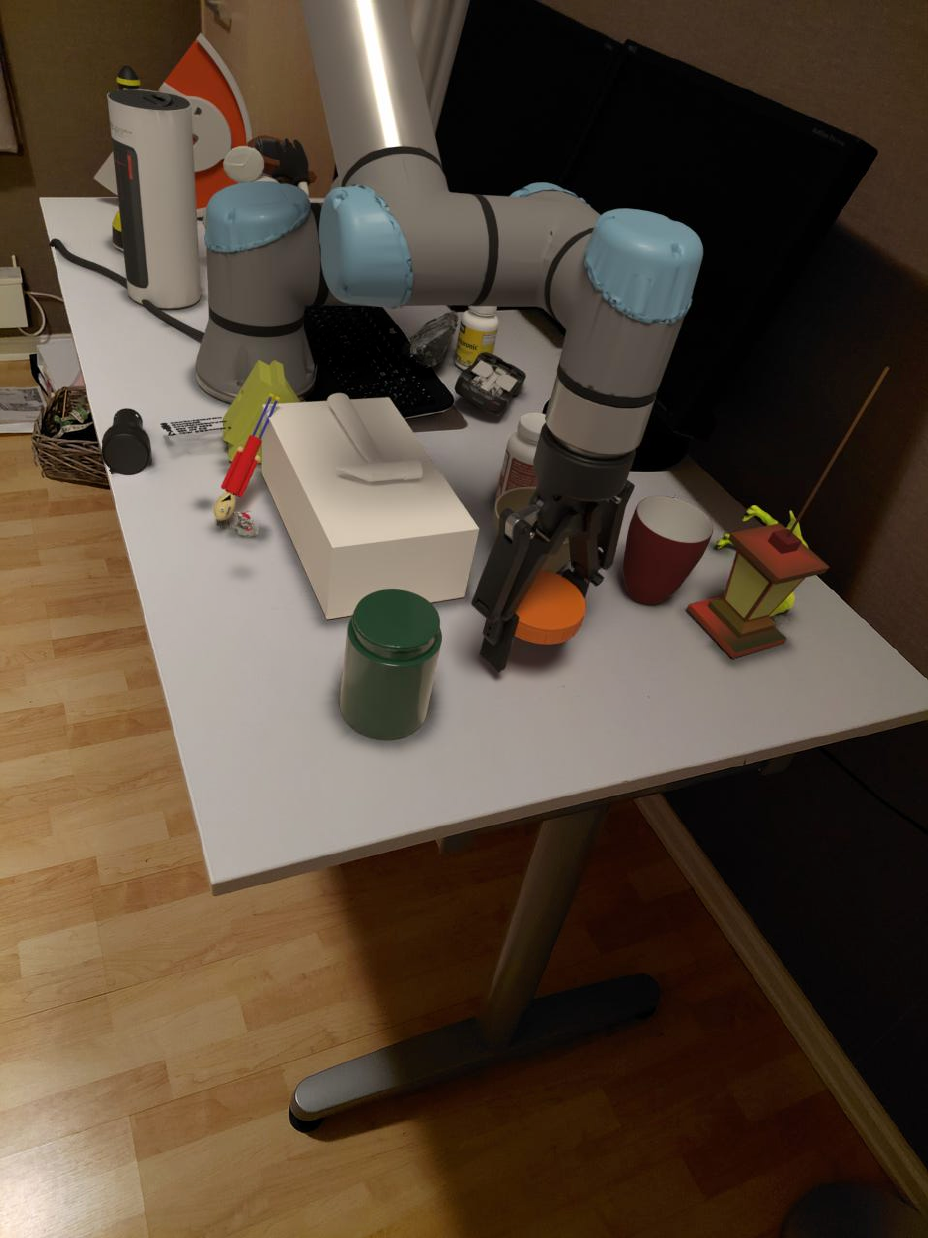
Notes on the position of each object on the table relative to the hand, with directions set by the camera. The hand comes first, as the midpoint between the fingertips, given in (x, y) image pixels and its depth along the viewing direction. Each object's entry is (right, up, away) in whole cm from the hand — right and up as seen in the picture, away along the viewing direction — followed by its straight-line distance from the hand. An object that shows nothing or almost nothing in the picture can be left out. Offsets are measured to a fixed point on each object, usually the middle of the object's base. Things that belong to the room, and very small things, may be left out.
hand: (526, 644), depth 80 cm
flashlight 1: (-58, +63, +57) cm, 103 cm away
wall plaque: (-63, +73, +69) cm, 119 cm away
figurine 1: (-27, +26, +12) cm, 40 cm away
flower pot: (+1, +8, +12) cm, 14 cm away
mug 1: (-38, +68, +68) cm, 103 cm away
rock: (-14, +46, +41) cm, 63 cm away
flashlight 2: (-42, +25, +19) cm, 52 cm away
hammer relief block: (-17, +12, +11) cm, 24 cm away
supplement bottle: (-5, +40, +45) cm, 61 cm away
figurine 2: (-29, +11, +8) cm, 32 cm away
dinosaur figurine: (+27, +12, +23) cm, 37 cm away
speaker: (-50, +50, +46) cm, 85 cm away
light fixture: (+23, +2, +10) cm, 25 cm away
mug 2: (+14, +5, +13) cm, 20 cm away
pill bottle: (+1, +16, +20) cm, 26 cm away
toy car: (-2, +36, +36) cm, 51 cm away
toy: (-20, +70, +62) cm, 96 cm away
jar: (-13, -5, -6) cm, 15 cm away
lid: (+1, +4, -4) cm, 6 cm away
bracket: (-31, +27, +15) cm, 44 cm away
